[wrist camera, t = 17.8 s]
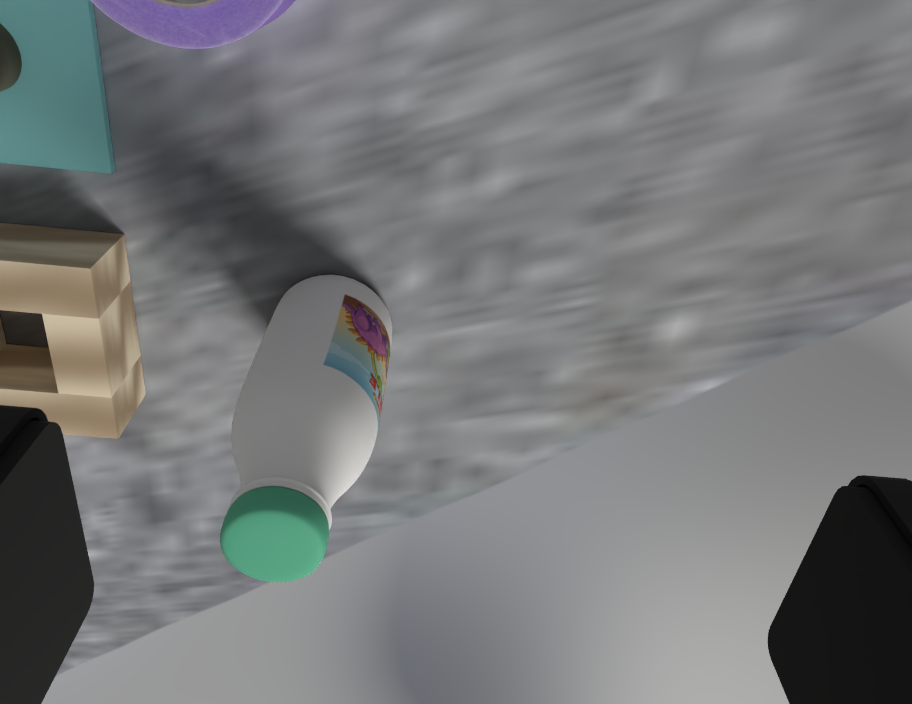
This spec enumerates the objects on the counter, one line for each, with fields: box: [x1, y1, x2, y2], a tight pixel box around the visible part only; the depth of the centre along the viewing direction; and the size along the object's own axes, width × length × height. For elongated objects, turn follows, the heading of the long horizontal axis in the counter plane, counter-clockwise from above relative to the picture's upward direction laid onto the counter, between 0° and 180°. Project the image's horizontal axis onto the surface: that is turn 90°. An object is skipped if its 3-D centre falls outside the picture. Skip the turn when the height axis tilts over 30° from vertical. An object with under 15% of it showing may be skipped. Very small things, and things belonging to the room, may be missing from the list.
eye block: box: [0, 222, 146, 439], centre depth 47 cm, size 12×12×5 cm
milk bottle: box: [220, 275, 392, 582], centre depth 41 cm, size 8×8×20 cm
